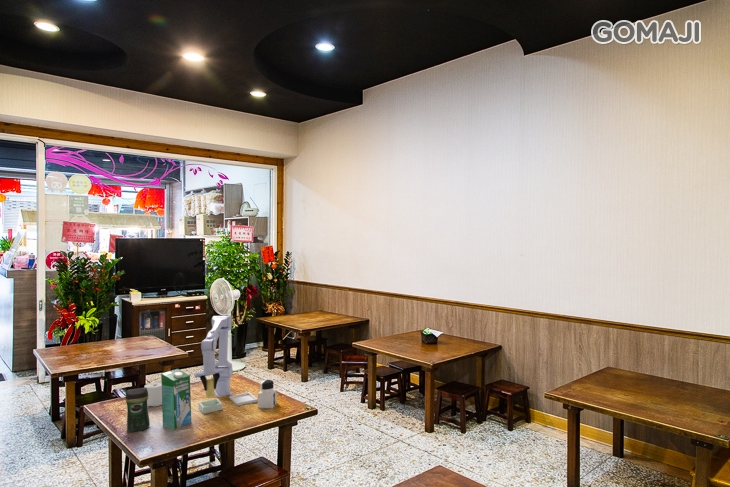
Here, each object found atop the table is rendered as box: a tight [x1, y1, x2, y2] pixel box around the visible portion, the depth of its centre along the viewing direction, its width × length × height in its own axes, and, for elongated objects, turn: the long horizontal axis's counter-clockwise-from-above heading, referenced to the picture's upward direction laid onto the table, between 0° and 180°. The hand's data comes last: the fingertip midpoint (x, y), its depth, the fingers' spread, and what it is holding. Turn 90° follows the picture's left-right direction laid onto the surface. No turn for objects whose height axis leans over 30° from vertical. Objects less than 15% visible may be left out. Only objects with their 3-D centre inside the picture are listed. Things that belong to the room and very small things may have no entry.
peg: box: [205, 377, 215, 399], centre depth 240 cm, size 4×4×9 cm
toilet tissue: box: [143, 380, 162, 407], centre depth 252 cm, size 11×12×10 cm
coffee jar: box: [125, 387, 151, 432], centre depth 218 cm, size 10×8×19 cm
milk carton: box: [160, 368, 192, 431], centre depth 221 cm, size 9×9×25 cm
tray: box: [228, 391, 258, 407], centre depth 252 cm, size 14×11×2 cm
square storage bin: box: [197, 397, 224, 414], centre depth 240 cm, size 10×10×4 cm
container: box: [257, 379, 278, 409], centre depth 244 cm, size 8×8×13 cm
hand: (210, 389), depth 240 cm, fingers closed on peg, 4 cm apart
